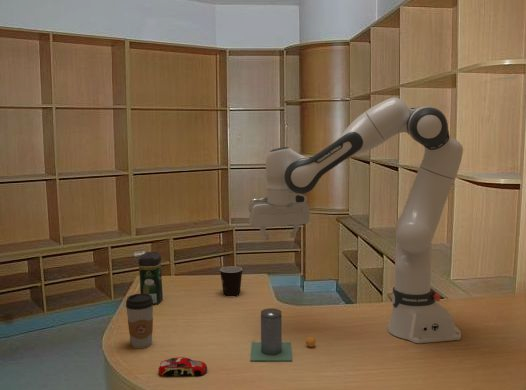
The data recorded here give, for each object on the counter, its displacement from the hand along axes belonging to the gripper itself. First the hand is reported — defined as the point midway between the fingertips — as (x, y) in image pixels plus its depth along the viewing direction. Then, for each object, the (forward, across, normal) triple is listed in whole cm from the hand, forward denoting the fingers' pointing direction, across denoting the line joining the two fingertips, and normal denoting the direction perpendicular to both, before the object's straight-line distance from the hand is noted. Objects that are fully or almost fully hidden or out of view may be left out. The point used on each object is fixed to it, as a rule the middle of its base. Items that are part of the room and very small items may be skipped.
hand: (279, 238), depth 180 cm
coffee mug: (+29, -8, +34) cm, 46 cm away
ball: (+29, +3, -21) cm, 36 cm away
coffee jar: (+29, -39, +35) cm, 60 cm away
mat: (+29, -10, -21) cm, 37 cm away
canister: (+29, -10, -21) cm, 37 cm away
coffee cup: (+29, -46, -3) cm, 55 cm away
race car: (+30, -37, -25) cm, 53 cm away
